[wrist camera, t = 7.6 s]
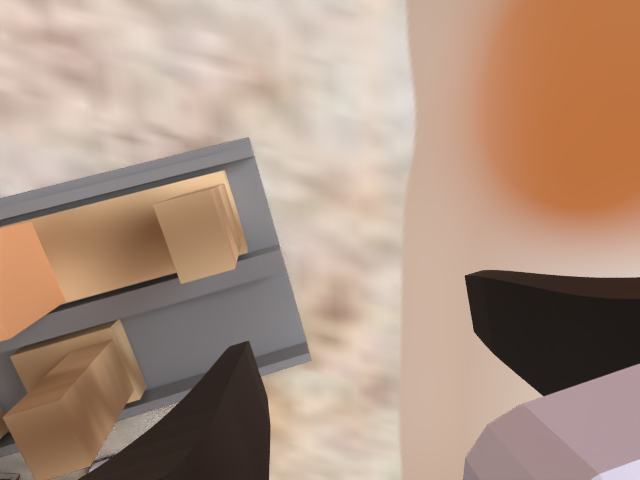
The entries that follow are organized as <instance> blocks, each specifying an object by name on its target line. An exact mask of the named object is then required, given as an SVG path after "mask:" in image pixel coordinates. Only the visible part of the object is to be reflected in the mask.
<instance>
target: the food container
mask: <svg viewBox="0 0 640 480" xmlns="http://www.w3.org/2000/svg"><path fill="white" fill-rule="evenodd" d="M19 476H20V474H13V473H0V480H19Z"/></svg>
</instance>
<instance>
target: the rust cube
mask: <svg viewBox="0 0 640 480" xmlns="http://www.w3.org/2000/svg"><path fill="white" fill-rule="evenodd" d="M65 301H66V300H65V298H64V296H63V293H62V291H61V289H60V286H59V284H58V282H57V280H56V277H55V275H54V273H53V270H52V268H51V266H50V263H49V261H48V259H47V257H46V254H45V252H44V250H43V247H42V245H41V243H40V241H39V238H38V236H37V234H36V231H35V229H34V227H33V225H32V222H27V223H22V224H18V225H14V226H10V227H5V228H1V229H0V341H4V340H7V339H11V338H12V337H14V336H15V335H17V334H18V333H20V332H21V331H23V330H24V329H26V328H27V327H28V326H30V325H31V324H33V323H34V322H36V321H37V320H39V319H40V318H42V317H43V316H45V315H46V314H47V313H49V312H50V311H52V310H53V309H55V308H56V307H58V306H59V305H61V304H62V303H64V302H65Z"/></svg>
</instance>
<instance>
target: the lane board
mask: <svg viewBox="0 0 640 480" xmlns="http://www.w3.org/2000/svg"><path fill="white" fill-rule="evenodd" d="M223 170H225V172H226V175H227V178H228V182H229V185H230V188H231V192H232V195H233V198H234V202H235V205H236V208H237V212H238V215H239V218H240V221H241V225H242V228H243V231H244V235H245V238H246V241H247V245H248V253H245V254H241V255H239V256H238V259H237V263H236V267H235V269H233V270H229V271H226V272H222V273H219V274H215V275H211V276H208V277H204V278H201V279H197V280H194V281H190V282H186V283H183V284H181V283H180V280H179V277H178V274H177V272H176V273H173V274H169V275H165V276H162V277H158V278H155V279H151V280H147V281H144V282H140V283H137V284H133V285H129V286H126V287H122V288H119V289H115V290H111V291H108V292H104V293H100V294H97V295H93V296H90V297H86V298H82V299H79V300H75V301H72V302H68V303H64V304H61V305H59V306H58V307H56V308H55V309H53V310H52V311H50V312H49V313H47V314H46V315H45V316H43V317H42V318H40V319H39V320H37V321H36V322H34V323H33V324H31V325H30V326H28V327H27V328H26V329H24V330H23V331H21V332H20V333H18V334H17V335H15V336H14V337H12V338H11V339H7V340H4V341H0V406H1V407H2V409H3V411H4V413H5V415H6V414H7V413H8V412H9V411H10V410H11V409H12V408H13V407H14V406H15V405H16V404H17V403H18V402H19V401H20V400H21V399H22V398H23V397H24V396H25V395H26V394H27V391H26V389H25V387H24V384H23V382H22V380H21V378H20V376H19V374H18V372H17V370H16V368H15V366H14V364H13V362H12V360H11V358H10V356H11V355H12V354H14V353H15V352H16V351H18V350H19V349H20V348H22V347H23V346H26V345H30V344H33V343H37V342H40V341H44V340H47V339H51V338H54V337H58V336H61V335H65V334H68V333H72V332H76V331H79V330H83V329H86V328H90V327H93V326H97V325H100V324H104V323H107V322H111V321H114V320H118V319H120V321H121V323H122V326H123V328H124V330H125V333H126V335H127V338H128V340H129V343H130V345H131V348H132V350H133V353H134V355H135V358H136V360H137V363H138V365H139V368H140V370H141V372H142V375H143V377H144V380H145V382H146V385H147V387H146V389H145V391H144V393H143V395H142V397H141V399H140V400H136V401H133V402H130V403H127V404H126V405H125V407H124V408H123V410H122V412H121V414H120V415H119V417H118V419H117V421H119V420H122V419H125V418H129V417H132V416H135V415H138V414H141V413H145V412H148V411H151V410H154V409H158V408H161V407H164V406H167V405H170V404H174V403H177V402H180V401H181V400H182V399H183V398H184V397H185V396H186V395H187V394H188V393H189V392H190V391H191V390H192V388H193V387H194V386H195V385H196V384H197V383H198V382H199V381H200V380H201V379H202V378H203V376H204V375H205V374H206V373H207V372H208V370H209V369H210V368H211V367H212V366H213V365H214V363H215V362H216V361H217V360H218V359H219V357H220V356H221V355H222V354H223V353H224V351H225V350H226V349H227V348H228V347H229V346H232V345H235V344H239V343H242V342H245V341H249V342H250V345H251V348H252V351H253V354H254V357H255V360H256V363H257V366H258V370H259V373H260V376H264V375H267V374H270V373H273V372H277V371H280V370H283V369H286V368H289V367H293V366H296V365H299V364H302V363H306V362H309V361H312V360H311V356H310V352H309V348H308V344H307V341H306V337H305V334H304V330H303V327H302V323H301V320H300V316H299V313H298V309H297V305H296V302H295V298H294V295H293V291H292V288H291V284H290V281H289V277H288V274H287V270H286V266H285V263H284V259H283V256H282V252H281V249H280V245H279V242H278V238H277V235H276V231H275V227H274V224H273V220H272V217H271V213H270V210H269V206H268V203H267V199H266V196H265V192H264V188H263V185H262V181H261V178H260V174H259V171H258V167H257V164H256V160H255V157H254V153H253V150H252V146H251V142H250V139H249V137H248V138H243V139H239V140H235V141H231V142H227V143H223V144H219V145H215V146H211V147H207V148H203V149H199V150H195V151H191V152H187V153H183V154H179V155H174V156H170V157H166V158H162V159H158V160H154V161H150V162H146V163H142V164H138V165H134V166H130V167H126V168H122V169H118V170H114V171H110V172H105V173H101V174H97V175H93V176H89V177H85V178H81V179H77V180H73V181H69V182H65V183H61V184H57V185H53V186H49V187H45V188H41V189H36V190H32V191H28V192H24V193H20V194H16V195H12V196H8V197H4V198H0V227H2V226H6V225H10V224H14V223H18V222H22V221H26V220H29V219H33V218H37V217H41V216H45V215H49V214H53V213H57V212H61V211H65V210H69V209H73V208H77V207H81V206H85V205H89V204H93V203H97V202H101V201H104V200H108V199H112V198H116V197H120V196H124V195H128V194H132V193H136V192H140V191H144V190H148V189H152V188H156V187H160V186H164V185H168V184H172V183H175V182H179V181H183V180H187V179H191V178H195V177H199V176H203V175H207V174H211V173H215V172H219V171H223ZM19 451H20V450H19V448H18V446H17V444H16V442H15V440H14V439H13V437H12V435H11V433H10V431H8V432H7V433H6V434H5V435H4V436H3V437H2V438H1V439H0V457H3V456H6V455H10V454H13V453H16V452H19Z"/></svg>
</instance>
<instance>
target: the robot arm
mask: <svg viewBox="0 0 640 480" xmlns="http://www.w3.org/2000/svg"><path fill="white" fill-rule="evenodd" d="M465 280H466V286H467V293H468V299H469V304H470V311H471V316H472V322H473V329H474V332H475V333H476V335H477V336H478V337H479V338H480V339H481V341H482V342H483V343H484V344H485V345H486V346H487V347H488V348H489V349H490V351H491V352H492V353H493V354H494V355H496V356H497V357H498V358H499V359H500V360H501V361H502V362H503V363H505V364H506V365H507V366H508V367H509V368H511V369H512V370H513V371H514V372H515V373H516V374H518V375H519V376H520V377H521V378H522V379H524V380H525V381H526V382H527V383H528V384H530V385H531V386H532V387H533V388H534V389H536V390H537V391H538V392H539V393H540V394H542V395H543V396H544V397H541V398H538V399H535V400H532V401H529V402H527V403H523V404H521V405H518V406H516V407H515V408H513V409H512V410H510V411H508V412H507V413H505V414H503V415H502V416H500V417H498V418H497V419H495V420H494V421H492V422H490V423H489V424H487V426H486V428H485V429H484V430H483V432H482V433H481V435H480V436H479V438H478V439H477V441H476V442H475V444H474V445H473V446H472V448H471V450H470V451H469V453H468V454H467V456H466V458H465V467H464V476H463V480H640V277H637V278H589V277H572V276H557V275H545V274H535V273H525V272H513V271H500V270H483V271H479V272H475V273H472V274H469V275H465ZM269 460H270V417H269V407H268V398H267V394H266V391H265V388H264V385H263V382H262V379H261V376H260V373H259V370H258V366H257V363H256V360H255V357H254V354H253V351H252V348H251V345H250V342H249V341H245V342H242V343H239V344H235V345H232V346H229V347H228V348H227V349H226V350H225V351H224V353H223V354H222V355H221V356H220V357H219V359H218V360H217V361H216V362H215V363H214V365H213V366H212V367H211V368H210V369H209V370H208V372H207V373H206V374H205V375H204V376H203V378H202V379H201V380H200V381H199V382H198V383H197V384H196V385H195V386H194V387H193V388H192V390H191V391H190V392H189V393H188V394H187V395H186V396H185V397H184V398H183V399H182V400H181V401H180V402H179V403H178V404H177V405H176V406H175V407H174V408H173V409H172V410H171V411H170V412H169V413H168V414H167V415H165V416H164V417H163V418H162V419H161V420H160V421H159V422H158V423H156V424H155V425H154V426H153V427H152V428H150V429H149V430H148V431H147V432H145V433H144V434H143V435H141V436H140V437H139V438H138V439H136V440H135V441H134V442H132V443H131V444H130V445H128V446H127V447H126V448H124V449H123V450H122V451H120V452H119V453H118V454H116V455H115V456H113V457H112V458H109V459H106V460H103V461H100V462H97V463H95V464H93V465H92V466H91V468H90V469H89V471H88V474H86V475H84V476H83V477H81V478H80V479H78V480H269Z"/></svg>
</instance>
